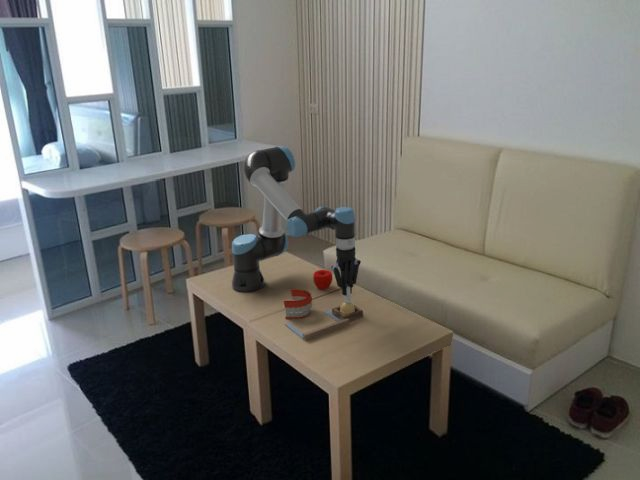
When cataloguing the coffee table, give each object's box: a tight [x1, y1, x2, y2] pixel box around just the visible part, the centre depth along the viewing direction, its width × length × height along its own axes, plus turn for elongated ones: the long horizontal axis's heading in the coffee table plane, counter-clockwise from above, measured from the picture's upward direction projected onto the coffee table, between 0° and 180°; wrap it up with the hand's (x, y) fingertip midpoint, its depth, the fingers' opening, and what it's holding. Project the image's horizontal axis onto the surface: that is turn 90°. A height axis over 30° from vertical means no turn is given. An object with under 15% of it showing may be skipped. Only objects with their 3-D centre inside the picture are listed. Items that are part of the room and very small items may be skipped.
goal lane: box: [284, 309, 350, 342], centre depth 227 cm, size 16×20×2 cm
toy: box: [283, 288, 313, 320], centre depth 236 cm, size 12×10×8 cm
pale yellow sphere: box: [339, 301, 355, 315], centre depth 232 cm, size 6×6×6 cm
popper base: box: [331, 305, 364, 323], centre depth 233 cm, size 9×9×3 cm
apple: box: [312, 269, 333, 291], centre depth 258 cm, size 9×9×8 cm
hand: (347, 301), depth 231 cm, fingers closed
